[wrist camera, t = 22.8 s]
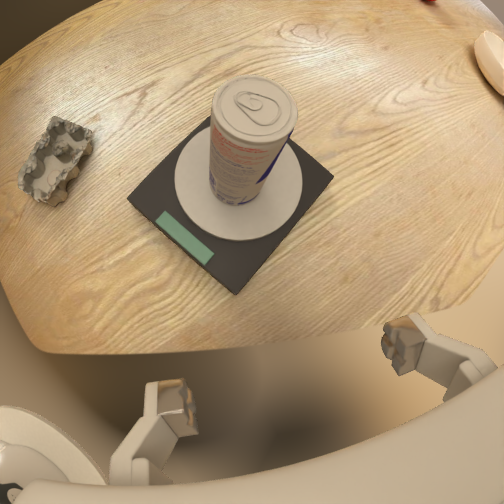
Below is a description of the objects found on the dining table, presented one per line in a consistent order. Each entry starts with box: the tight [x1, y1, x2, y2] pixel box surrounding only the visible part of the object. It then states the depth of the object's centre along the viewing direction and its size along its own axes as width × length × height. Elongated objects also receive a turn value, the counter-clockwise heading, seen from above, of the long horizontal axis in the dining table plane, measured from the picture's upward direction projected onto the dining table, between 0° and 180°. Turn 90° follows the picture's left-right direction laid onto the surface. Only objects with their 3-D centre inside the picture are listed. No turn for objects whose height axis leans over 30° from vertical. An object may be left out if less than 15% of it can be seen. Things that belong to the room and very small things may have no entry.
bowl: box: [474, 31, 504, 97], centre depth 45 cm, size 20×20×8 cm
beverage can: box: [209, 75, 298, 206], centre depth 25 cm, size 6×6×15 cm
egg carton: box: [18, 116, 93, 207], centre depth 31 cm, size 11×8×4 cm
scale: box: [127, 115, 334, 295], centre depth 34 cm, size 18×16×4 cm
